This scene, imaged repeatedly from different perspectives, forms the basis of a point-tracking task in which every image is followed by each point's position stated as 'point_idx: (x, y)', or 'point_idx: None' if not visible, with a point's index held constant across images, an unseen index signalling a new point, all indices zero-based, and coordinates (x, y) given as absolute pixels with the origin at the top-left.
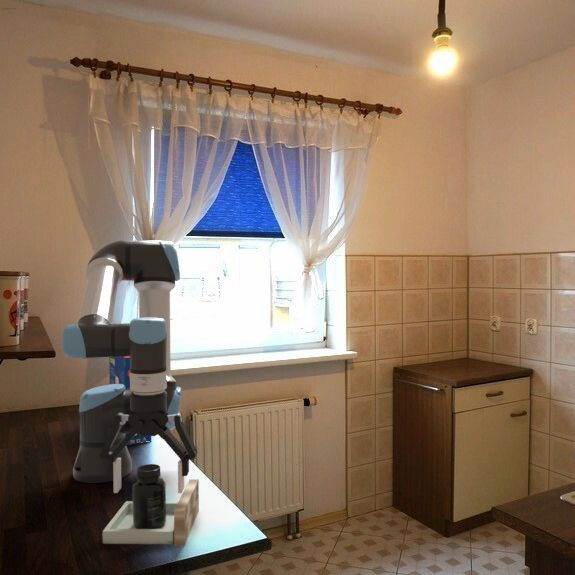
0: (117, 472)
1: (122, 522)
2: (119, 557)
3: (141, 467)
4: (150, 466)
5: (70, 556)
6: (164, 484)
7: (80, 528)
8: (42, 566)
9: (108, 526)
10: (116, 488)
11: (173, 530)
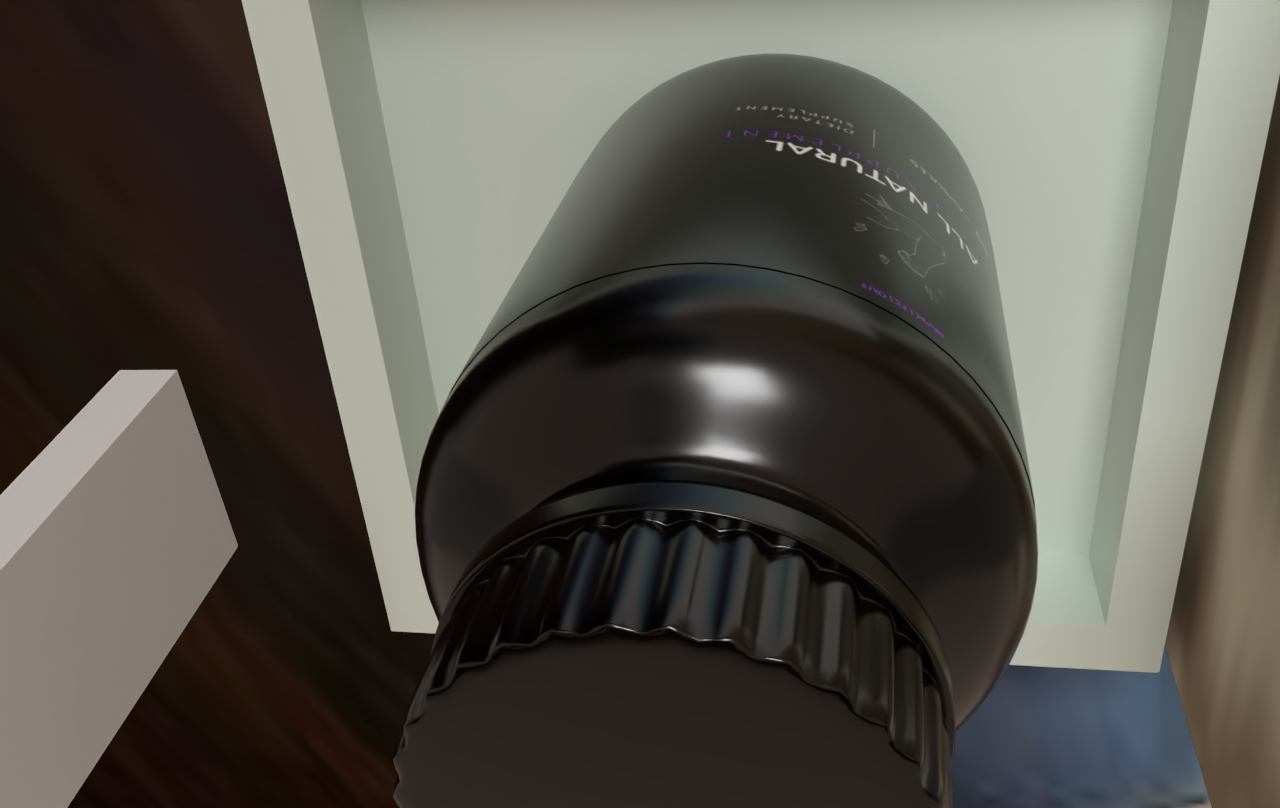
0: (55, 791)
1: (417, 214)
2: None
3: (473, 805)
4: (675, 778)
5: (287, 700)
6: (1032, 594)
7: (24, 275)
8: (186, 791)
9: (394, 548)
10: (196, 596)
11: (1163, 642)
